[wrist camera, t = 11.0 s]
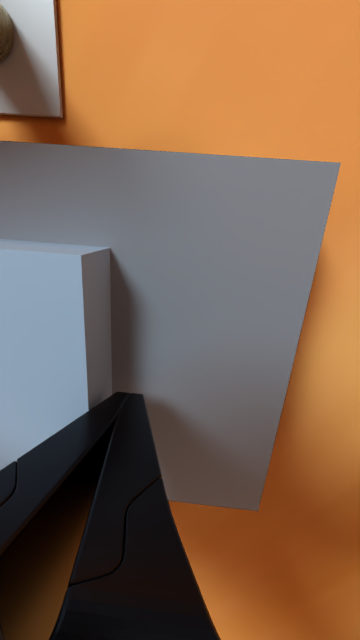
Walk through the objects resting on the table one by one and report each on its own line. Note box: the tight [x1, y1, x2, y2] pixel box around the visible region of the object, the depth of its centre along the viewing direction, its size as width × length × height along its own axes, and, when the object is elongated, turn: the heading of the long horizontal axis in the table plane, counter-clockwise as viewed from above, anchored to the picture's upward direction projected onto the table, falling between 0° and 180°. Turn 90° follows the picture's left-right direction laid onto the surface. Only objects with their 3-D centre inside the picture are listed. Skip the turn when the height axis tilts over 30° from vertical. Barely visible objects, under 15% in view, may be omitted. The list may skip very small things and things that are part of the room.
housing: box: [0, 0, 341, 511], centre depth 10 cm, size 18×13×4 cm
